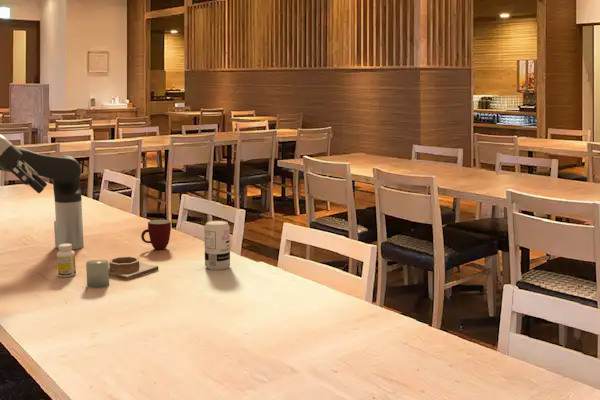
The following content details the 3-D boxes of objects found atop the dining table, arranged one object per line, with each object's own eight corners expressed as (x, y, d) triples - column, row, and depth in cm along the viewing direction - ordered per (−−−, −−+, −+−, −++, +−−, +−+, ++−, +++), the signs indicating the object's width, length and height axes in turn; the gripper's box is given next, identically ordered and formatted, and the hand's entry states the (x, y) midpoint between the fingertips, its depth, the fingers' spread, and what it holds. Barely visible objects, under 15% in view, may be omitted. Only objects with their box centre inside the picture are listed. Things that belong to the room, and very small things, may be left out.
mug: (145, 253, 249) (145, 225, 247) (139, 248, 256) (138, 221, 254) (174, 250, 254) (173, 222, 252) (167, 245, 261) (166, 218, 259)
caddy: (90, 272, 225) (90, 261, 224) (122, 262, 236) (122, 252, 236) (127, 280, 216) (126, 269, 216) (158, 269, 228) (158, 259, 228)
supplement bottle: (68, 271, 225) (67, 241, 223) (79, 274, 222) (78, 244, 220) (54, 275, 221) (52, 245, 219) (65, 278, 218) (63, 247, 216)
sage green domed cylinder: (82, 285, 211) (81, 263, 209) (98, 280, 216) (97, 258, 215) (97, 289, 207) (96, 266, 206) (113, 283, 213) (112, 261, 212)
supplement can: (205, 264, 236) (204, 220, 233) (230, 263, 236) (229, 220, 234) (204, 270, 228) (203, 225, 225) (229, 270, 228) (229, 225, 226)
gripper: (-3, 158, 220) (37, 193, 225) (-12, 163, 206) (31, 201, 211) (14, 141, 220) (54, 177, 225) (7, 145, 207) (49, 183, 211)
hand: (43, 189), depth 218 cm, fingers open, 8 cm apart
